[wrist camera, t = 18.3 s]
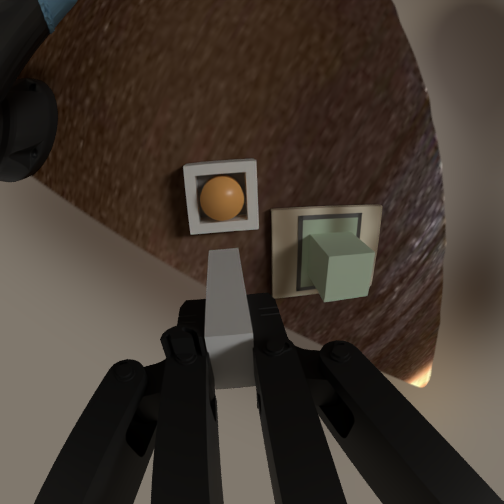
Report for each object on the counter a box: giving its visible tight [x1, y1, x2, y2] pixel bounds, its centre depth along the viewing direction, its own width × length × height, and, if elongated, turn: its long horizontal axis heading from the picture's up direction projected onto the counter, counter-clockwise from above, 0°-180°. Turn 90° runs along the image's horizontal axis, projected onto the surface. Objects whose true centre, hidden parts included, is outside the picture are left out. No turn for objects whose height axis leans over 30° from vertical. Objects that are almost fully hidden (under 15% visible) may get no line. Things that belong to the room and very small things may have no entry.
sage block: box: [308, 232, 375, 302], centre depth 34 cm, size 6×6×7 cm
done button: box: [200, 174, 244, 221], centre depth 31 cm, size 5×5×3 cm
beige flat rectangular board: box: [271, 205, 382, 298], centre depth 37 cm, size 16×13×1 cm
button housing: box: [183, 159, 259, 235], centre depth 32 cm, size 8×8×3 cm
